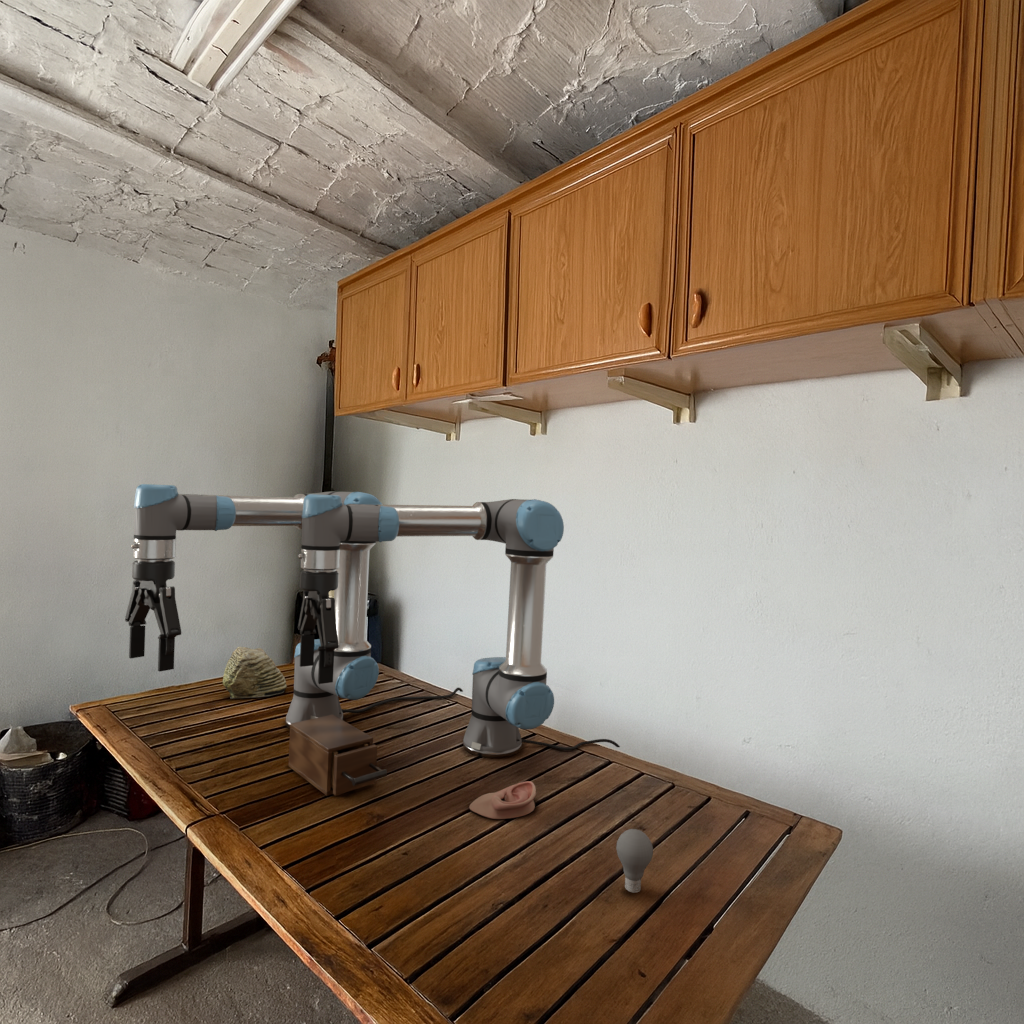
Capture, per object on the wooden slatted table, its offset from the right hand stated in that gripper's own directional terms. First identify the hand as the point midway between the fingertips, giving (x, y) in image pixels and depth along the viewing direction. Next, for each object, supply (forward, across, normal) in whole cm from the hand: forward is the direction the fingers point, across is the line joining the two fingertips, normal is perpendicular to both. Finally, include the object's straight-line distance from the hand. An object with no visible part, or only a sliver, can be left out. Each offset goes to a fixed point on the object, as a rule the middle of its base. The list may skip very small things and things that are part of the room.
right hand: (315, 674), depth 129 cm
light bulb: (+27, +54, +38) cm, 71 cm away
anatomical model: (+27, +19, +35) cm, 48 cm away
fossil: (+27, -79, +4) cm, 83 cm away
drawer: (+26, -7, +9) cm, 29 cm away
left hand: (-1, -19, -28) cm, 34 cm away
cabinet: (+27, -13, +8) cm, 31 cm away
